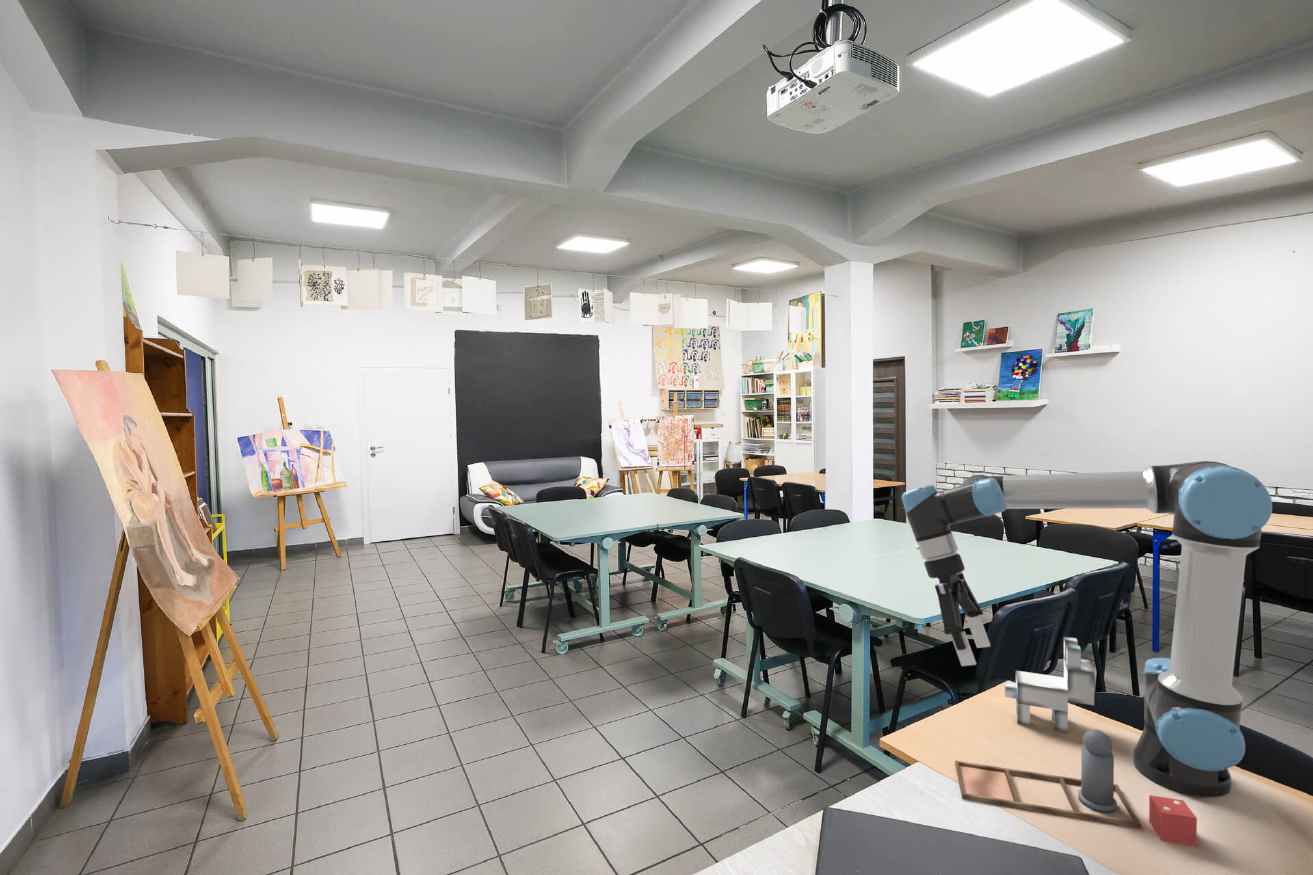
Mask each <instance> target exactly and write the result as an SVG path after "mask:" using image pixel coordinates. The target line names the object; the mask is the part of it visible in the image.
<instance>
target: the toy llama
mask: <svg viewBox="0 0 1313 875" xmlns="http://www.w3.org/2000/svg"><path fill="white" fill-rule="evenodd" d="M1078 642H1079V641H1078V639H1077V638H1076V637H1068V636H1063V677H1062V676H1058V675H1057V676H1056V675H1048V674H1043V673H1042V674H1041V673H1037V672H1035V673H1034V672H1028V671H1021V670H1015V683H1008V682H1004V696H1005V698H1007V699H1008V698H1010V699H1015V711H1016V712H1015V714H1016V721H1017V725H1023V726H1027V727H1030V726H1031V707H1037V708H1042V709H1048V710H1051V719H1052V720H1051V721H1053V727H1054V731H1055V732H1060V733H1067V734H1068V732H1069V709H1068V708H1069V704H1068V703H1076V704H1081V705H1088V706H1089V705H1090V706H1095V672H1094V669H1093V666H1092V665H1091V662H1090V660H1087V659H1082V649H1081V646H1080V645H1079V643H1078Z"/></svg>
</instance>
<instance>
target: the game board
mask: <svg viewBox="0 0 1313 875" xmlns="http://www.w3.org/2000/svg"><path fill="white" fill-rule="evenodd" d="M954 766H955V771H956V774H957V780H958V783H959V784H958V785H959V789H960V795H961V798H962V799H963V800H964V799H965V800H968V801H969V800H970V801H975V802H981V803H988V804H993V805H999V806H1006V807H1012V808H1015V809H1016V808H1017V809H1024V810H1030V811H1035V812H1036V811H1037V812H1042V813H1046V814H1047V813H1048V814H1054V815H1059V816H1065V817H1072V818H1078V819H1083V820H1089V821H1095V822H1101V823H1106V824H1113V825H1120V826H1124V827H1131V828H1137V829H1142V823H1141V821H1140V819H1139V817H1138V816H1137V815H1136V813H1135V810H1133V808H1132V806H1131V805H1130V803H1129V801H1128V800H1127V798H1126V797H1125V795H1124V793H1123V792H1122V790H1121V789H1120V786H1119V785H1118V784H1115V783H1114V791H1115V793H1116V794H1117V796H1118V798H1119V800H1120V801H1121V803H1122V804H1123V806H1124V808H1125V810H1126V812H1127V813H1128V815H1129V816H1130V818H1131V819H1132V820H1131V819H1124V818H1118V817H1113V816H1112V817H1111V816H1105V815H1100V814H1096V813H1095V814H1093V813H1088V812H1081V811H1079V808H1078V806H1077V805H1076V802H1075V800H1074V798H1073V796H1072V794H1071V792H1070V790H1069V788H1068V786H1067V784H1072V785H1073V784H1074V785H1080V786H1081V779H1080V778H1074V777H1068V776H1061V775H1054V774H1053V775H1052V774H1049V773H1048V774H1047V773H1041V772H1034V771H1028V770H1027V771H1026V770H1020V769H1015V768H1014V769H1013V768H1008V767H1000V766H995V765H994V766H993V765H988V764H979V763H974V762H973V763H972V762H968V761H967V762H965V761H960V760H954ZM1011 775H1014V776H1020V777H1025V778H1026V777H1027V778H1033V779H1041V780H1045V781H1046V780H1048V781H1052V782H1053V781H1054V782H1059V783H1060V786H1061V788H1062V790H1063V792H1064V794H1065V796H1066V799H1067V800H1068V803H1069V805H1070V807H1071V809H1072V810H1070V809H1063V808H1057V807H1051V806H1046V805H1045V806H1044V805H1038V804H1033V803H1027V802H1021V801H1020V799H1019V796H1018V793H1017V790H1016V787H1015V785H1014V782H1013V779H1012V776H1011ZM1066 783H1067V784H1066Z"/></svg>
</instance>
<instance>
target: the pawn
mask: <svg viewBox="0 0 1313 875" xmlns="http://www.w3.org/2000/svg"><path fill="white" fill-rule="evenodd" d="M1082 743H1083V746H1081V775H1080V776H1081V777H1080V778H1081V785H1080V786H1081V788H1080V789H1079V790H1078V792H1077V796H1078V797H1077V798H1078V801H1079V802H1080V803H1081V804H1082V805H1083V806H1085V807H1086V808H1088V809H1090V810H1092V811H1095V812H1098V813H1103V814H1112V813H1113V814H1114V813H1115V812H1116V811H1117V809H1118V801H1117V799H1115V798H1114V794H1115V793H1114V791H1115V790H1114V784H1115V783H1114V782H1115V781H1114V777H1115V775H1114V774H1115V772H1114V771H1115V768H1114V767H1115V766H1114V765H1115V764H1114V763H1115V762H1114V761H1115V756H1114V753H1113V752H1112V751H1113V742H1112V740H1111V737H1109V736H1108V734H1107V733H1105V732H1104V731H1102V730H1099V729H1097V728H1096V729H1095V728H1094V729H1089V730H1087V731H1086V732H1084V734H1083V736H1082Z"/></svg>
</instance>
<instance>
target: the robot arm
mask: <svg viewBox="0 0 1313 875" xmlns="http://www.w3.org/2000/svg"><path fill="white" fill-rule="evenodd" d="M901 502H902V504H903V507H904V511H905V515H906V517H907V519H908V522H909V525H910V528H911V531H912V533H913V535H914V539H915V541H916V543H917V545H916V550H917V551H919V552H920V556H921V558H922V559H923V560H925V561H924V562H923V566H924V568H925V570H926V573H927V575H928V578H930V579H938V582H939V584H938V583H937V584H934V588H935V591H936V595H937V598H938V603H939V604H938V605H939V609H940V614H941V619H942V623H943V624H942V625H943V629H944V630H943V631H944V634H945V635H946V636H947V635H948V636H949V635H950V637H951V640H952V643H953V646H954V648H955V651H956V654H957V657H958V660H959V663H960V666H961V667H966V666H967V667H968V666H976V665H977V661H976V659H975V656H974V653H973V651H972V648H971V645H970V643H969V639H968V637H967V634H966V632H965V630H964V631H963V626H962V625H963V623H962V618H961V617H962V616H961V610H962V611H963V612H964V614H965V615H966V616H967V617H966V621H967V624H968V627H969V630H970V632H971V635H972V638H973V641H974V643H975V646H976V648H977V649H980V648H988V647H989V648H991V642H990V640H989V637H988V634H987V632H986V629H985V626H984V624H983V621H982V618H981V616H982V615H984V611H983V609H981V606H980V605H979V603H978V601H977V599H976V597H975V595H974V594H973V592H972V590H971V588H970V586H969V584H968V583H967V581H966V578H965V575H964V573H963V571H965V569H966V568H965V565H964V563H963V559H962V557H961V555H960V554H959V553H957V552H958V551H959V549H958V546H957V542H956V540H955V538H954V535H953V533H952V529H951V527H950V526H951V525H956V524H960V523H963V522H969V521H973V520H976V519H980V518H985V517H992V516H993V515H997V514H1000V513H1003V512H1005V511H1006V510H1010V509H1011V510H1013V509H1014V510H1021V509H1023V510H1026V509H1027V510H1032V509H1034V510H1036V509H1038V510H1039V509H1040V510H1041V509H1044V510H1046V509H1049V510H1051V509H1053V510H1054V509H1055V510H1056V509H1061V510H1062V509H1064V510H1065V509H1067V510H1069V509H1079V510H1080V509H1082V510H1083V509H1085V510H1086V509H1088V510H1089V509H1090V510H1091V509H1095V510H1096V509H1098V510H1099V509H1101V510H1102V509H1105V510H1106V509H1147V511H1148V510H1149V512H1151V513H1152V514H1170V515H1173V523H1172V533H1171V534H1172V537H1173V538H1174V539H1175V540H1176V541H1177V542H1178V543H1179V544H1180V546H1181V552H1180V562H1179V572H1178V583H1177V591H1176V600H1175V601H1176V604H1175V612H1174V620H1173V621H1174V622H1173V633H1172V643H1171V650H1170V651H1171V653H1170V658H1168V657H1167V658H1166V657H1153V658H1149V659H1147V660H1146V661H1145V665H1144V670H1143V674H1144V710H1143V711H1144V716H1143V717H1144V724H1143V725H1144V728H1143V730H1142V732H1141V735H1140V736H1139V738H1138V741H1137V743H1136V746H1135V748H1134V749H1133V764H1134V767H1135V768H1136V770H1137V771H1139V773H1141V774H1142V775H1143V776H1145V777H1146V778H1147V779H1149V780H1150V781H1153V782H1154V783H1157V784H1158V785H1161V786H1164V787H1165V788H1168V789H1171V790H1172V791H1173V790H1174V791H1176V792H1179V793H1183V794H1186V795H1187V794H1188V795H1191V796H1197V797H1205V798H1219V797H1222V796H1226V795H1227V794H1229V793H1230V792H1231V791H1232V777H1231V776H1232V775H1231V773H1230V771H1229V769H1230V768H1233V767H1235V766H1236V765H1238V764H1239V763H1240V762H1241V760H1243V757H1244V755H1245V753H1246V742H1245V737H1244V734H1243V733H1242V731H1241V729H1240V725H1241V717H1242V716H1241V715H1242V709H1243V707H1242V705H1243V695H1241V693H1239V691H1238V690H1236V689H1235V687H1234V686H1233V678H1234V670H1235V659H1236V649H1237V641H1238V632H1239V626H1240V625H1239V622H1240V616H1241V615H1240V614H1241V604H1242V595H1243V587H1244V580H1245V579H1244V578H1245V568H1246V561H1247V556H1248V555H1249V554H1251V553H1253V552H1254V551H1257V550H1258V549H1259V548H1260V545H1261V536H1262V529H1263V527H1265V526H1266V524H1267V523H1268V522H1269V520H1270V518H1271V516H1272V514H1273V513H1272V512H1273V501H1272V497H1271V495H1270V493H1269V491H1268V489H1267V488H1266V487H1265V485H1264V484H1263V482H1261V481H1260V480H1259V479H1258V478H1257V477H1256V476H1254V475H1253V474H1251V473H1250V472H1247V471H1245V470H1244V469H1241V468H1238V467H1234V466H1231V465H1229V464H1226V463H1222V462H1218V461H1211V460H1210V461H1208V460H1203V461H1193V462H1192V461H1191V462H1185V463H1184V462H1183V463H1176V464H1165V465H1164V464H1163V465H1148V466H1147V467H1146V468H1145V469H1144V470H1142V471H1111V472H1110V471H1108V472H1104V471H1103V472H1081V473H1080V472H1079V473H1078V472H1077V473H1075V472H1073V473H1048V474H1045V473H1042V474H1017V475H1016V474H1013V475H990V476H989V475H985V474H976V475H972V476H969V477H967V478H966V479H965V480H964V481H963V482H962V484H961V485H958V486H955V487H952V488H948V489H945V490H944V489H943V490H939V491H938V489H936V487H935V485H934V484H929V485H924V486H922V487H918V488H913V489H911V490H907V491H905V492H903V493H902V495H901ZM960 608H961V610H960Z"/></svg>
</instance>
